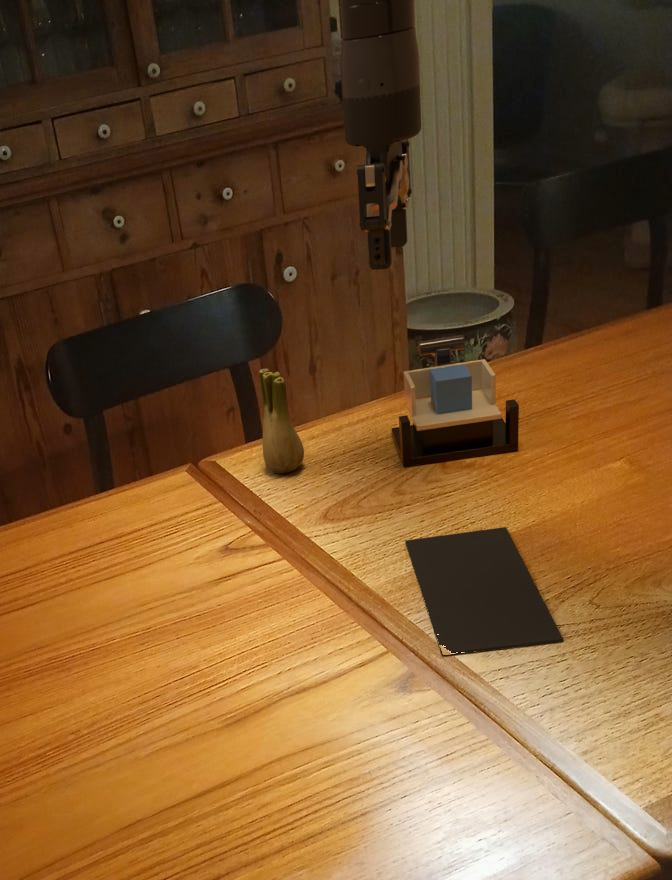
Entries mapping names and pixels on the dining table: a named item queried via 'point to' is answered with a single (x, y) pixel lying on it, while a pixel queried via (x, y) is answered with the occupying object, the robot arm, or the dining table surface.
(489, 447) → the stand
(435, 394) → the block
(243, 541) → the dining table surface
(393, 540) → the dining table surface
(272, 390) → the fennel bulb
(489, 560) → the mat
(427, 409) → the open storage bin
